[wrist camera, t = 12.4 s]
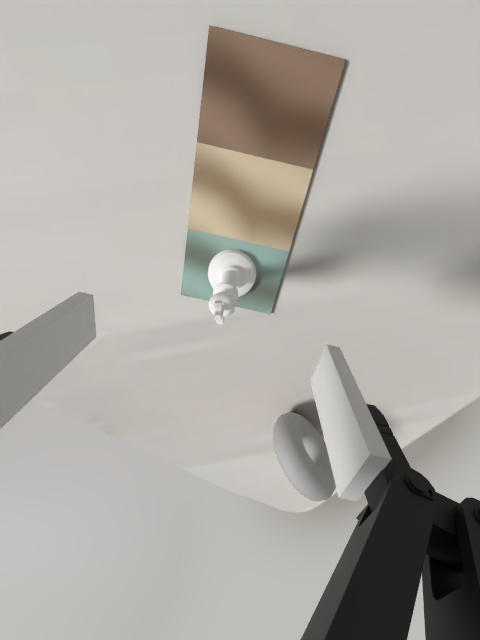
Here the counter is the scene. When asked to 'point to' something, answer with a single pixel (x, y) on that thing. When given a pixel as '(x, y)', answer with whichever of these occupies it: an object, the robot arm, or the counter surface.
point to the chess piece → (229, 281)
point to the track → (254, 156)
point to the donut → (303, 456)
